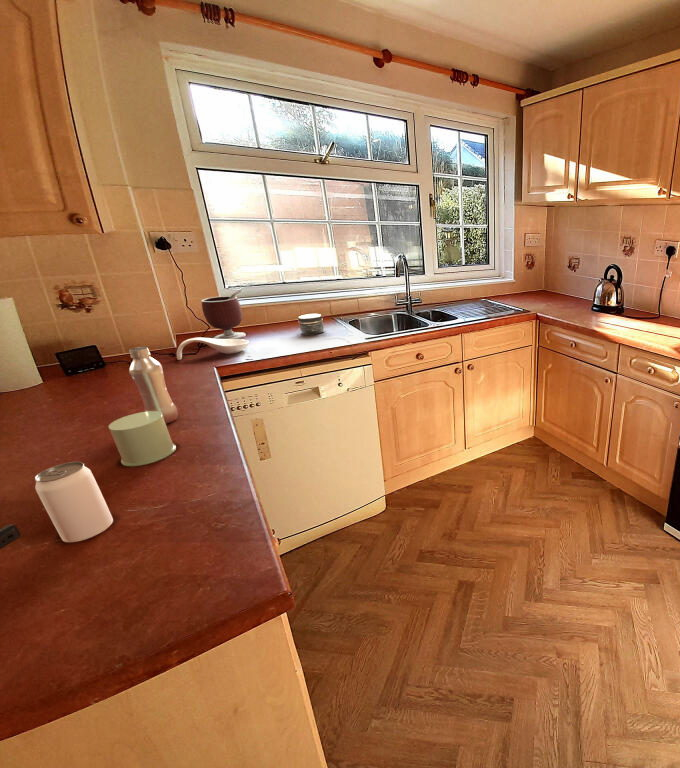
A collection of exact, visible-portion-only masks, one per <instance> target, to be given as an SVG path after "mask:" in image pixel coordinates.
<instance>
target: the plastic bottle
mask: <svg viewBox="0 0 680 768" xmlns="http://www.w3.org/2000/svg"><path fill="white" fill-rule="evenodd" d="M128 352H129V355H130V359H132V361H131V363H130V366H129V369H128V372H129V375H130V376H131V378H132V380H133V382H134V384H135V385H136V387H137V389H138V391H139V394H140V396H141V400H142V403H143V407H144V412H148V411H158V412H161V413H162V415H163V417H164V420H165V423H166V425H167V424H169V423H170V424H171V423H172V422H175V421H176V420H177V419H178V416H179V414H178V413H179V412H178V408H177V406H176V404H175V403H174V402H173V400H172V398H171V395H170V394H169V391H168V389H167V385H166V381H165V375H164V370H163V369H164V368H163V365H162V364H161V363H160V362H159V361H158V360H156V359H155V358H153V357H152V356H151V352H150V350H149V347H148V346H138V347H134V348H130V349H129V350H128Z"/></svg>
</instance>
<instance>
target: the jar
mask: <svg viewBox="0 0 680 768" xmlns="http://www.w3.org/2000/svg"><path fill="white" fill-rule="evenodd" d="M297 319H298V325H299V329H300V332H301V334H303V335H305V336H312V335H318V334H322V333H323V332H324V330H325V327H324V321H323V316H322V314H320V313H307V314H302V315H300V316H298V317H297Z"/></svg>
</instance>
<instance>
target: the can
mask: <svg viewBox="0 0 680 768" xmlns="http://www.w3.org/2000/svg"><path fill="white" fill-rule="evenodd" d="M34 481H35V487H34V488H35V489H34V490H35V492H36V493H37V496H38V497H39V499H40V501H41V503H42V505H43V507H44V509H45V511H46V513H47V515H48V517H49V518H50V520H51V522H52V524H53V526H54V527H55V531H56V532H57V533H58V535H59V537H60V539H61V541H63V542H64V543H76V542H77V543H78V542H81V541H85V540H88V539H90V538H93V537H95V536H97V535H99V534H101V533H103V532H104V531H106V530H107V529H108V528H109V527H111V525H112V524H113V523H114V519H113V516H112V513H111V510H110V509H109V507H108V504H107V502H106V500H105V498H104V496H103V494H102V491H101V489H100V487H99V485H98V482H97V481H96V478H95V476H94V474H93V473H92V470H91V469H90V468H88V467H87V466H85V463H84V462H82V461H69V462H64V463H60V464H57V465H54V466H51V467H49V468H46V469H44V470H42V471H41V472H39V473H37V475H35V477H34Z"/></svg>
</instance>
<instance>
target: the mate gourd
mask: <svg viewBox="0 0 680 768" xmlns="http://www.w3.org/2000/svg"><path fill="white" fill-rule="evenodd" d="M239 293H242V291H241V290H237V291H235V292H234V293H232V294H231V295H223V296H213V297H208V298H203V299H201V310H202V313H203V316H204V318H205V320H206V322H207V324H209V325H210V326H211V327H212V328H214V329H219V330H223V331H224V332H223V333H221V334H218V335H215V336H214V337H212V338H213V339H243V338H244V337H246V335H247V334H246V333H245V332H240V331H237V332H236V331H233V330H232V329H234V328H236V327H237V326H239V325H240V324H241V322H242V320H243V311H242V307H241V304H240V301H239V299H238V297H237V295H238V294H239Z"/></svg>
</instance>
